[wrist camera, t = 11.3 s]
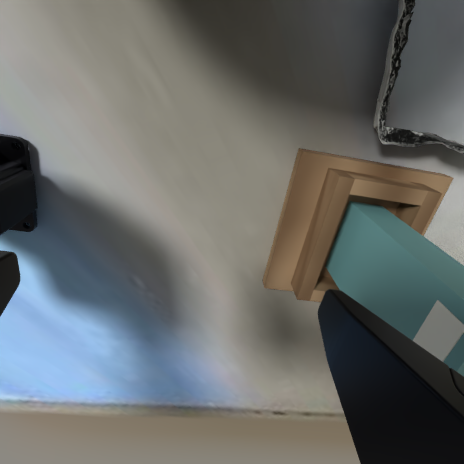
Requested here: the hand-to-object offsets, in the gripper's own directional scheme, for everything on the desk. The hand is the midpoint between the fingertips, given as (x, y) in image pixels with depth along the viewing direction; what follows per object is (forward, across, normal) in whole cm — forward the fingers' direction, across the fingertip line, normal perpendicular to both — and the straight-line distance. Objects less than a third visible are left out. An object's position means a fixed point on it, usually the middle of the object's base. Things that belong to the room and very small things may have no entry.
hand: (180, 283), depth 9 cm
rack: (+13, -12, +3) cm, 18 cm away
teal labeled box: (+12, -12, +3) cm, 17 cm away
